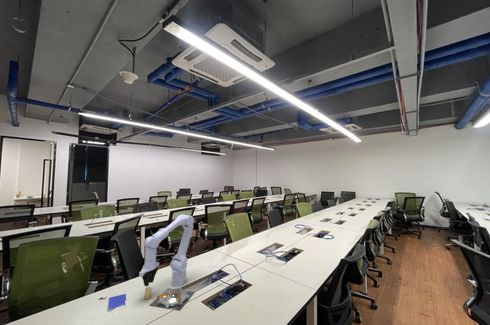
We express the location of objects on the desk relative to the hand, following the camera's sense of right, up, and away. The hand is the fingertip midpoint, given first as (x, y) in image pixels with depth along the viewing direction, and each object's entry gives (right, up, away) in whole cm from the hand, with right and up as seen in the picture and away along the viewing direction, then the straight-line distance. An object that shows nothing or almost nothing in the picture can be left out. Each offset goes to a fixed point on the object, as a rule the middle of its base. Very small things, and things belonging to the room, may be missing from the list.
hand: (148, 284), depth 113 cm
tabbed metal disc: (+14, -8, -1) cm, 16 cm away
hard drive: (-15, -8, -4) cm, 18 cm away
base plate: (+14, -9, -1) cm, 17 cm away
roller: (0, -8, -1) cm, 8 cm away
